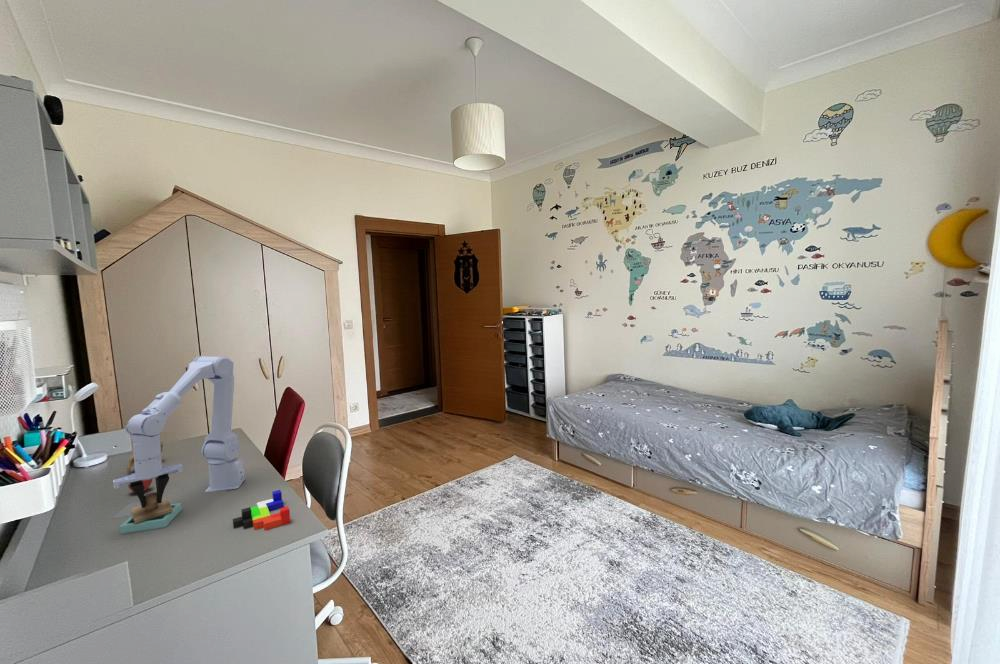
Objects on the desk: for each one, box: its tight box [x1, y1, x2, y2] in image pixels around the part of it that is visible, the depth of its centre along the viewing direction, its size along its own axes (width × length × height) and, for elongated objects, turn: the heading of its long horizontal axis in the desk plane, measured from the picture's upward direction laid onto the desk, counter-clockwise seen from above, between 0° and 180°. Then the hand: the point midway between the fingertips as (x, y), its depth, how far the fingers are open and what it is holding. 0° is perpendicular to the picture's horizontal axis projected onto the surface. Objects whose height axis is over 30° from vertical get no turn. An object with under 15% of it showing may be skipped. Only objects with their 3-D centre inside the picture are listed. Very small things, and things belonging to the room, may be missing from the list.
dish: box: [119, 502, 183, 535], centre depth 114 cm, size 10×10×2 cm
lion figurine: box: [126, 440, 164, 476], centre depth 152 cm, size 15×5×9 cm, turn 2°
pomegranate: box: [127, 479, 153, 492], centre depth 132 cm, size 6×6×8 cm
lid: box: [130, 491, 173, 523], centre depth 114 cm, size 8×8×5 cm
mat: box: [112, 501, 141, 519], centre depth 122 cm, size 10×9×1 cm
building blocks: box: [232, 489, 291, 531], centre depth 116 cm, size 15×13×4 cm
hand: (151, 504), depth 114 cm, fingers closed on lid, 3 cm apart
